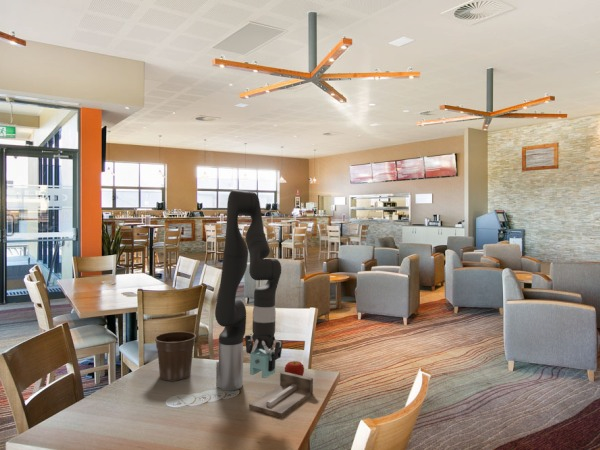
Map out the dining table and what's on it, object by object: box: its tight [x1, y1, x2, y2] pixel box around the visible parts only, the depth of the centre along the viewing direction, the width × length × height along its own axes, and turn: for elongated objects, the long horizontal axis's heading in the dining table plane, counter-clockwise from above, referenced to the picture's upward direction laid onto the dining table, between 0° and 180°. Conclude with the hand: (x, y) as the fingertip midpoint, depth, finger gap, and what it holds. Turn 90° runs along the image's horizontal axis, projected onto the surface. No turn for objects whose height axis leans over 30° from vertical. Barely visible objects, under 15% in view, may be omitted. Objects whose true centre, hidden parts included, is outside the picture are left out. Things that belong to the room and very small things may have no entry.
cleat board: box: [248, 371, 314, 419], centre depth 157 cm, size 13×22×6 cm, turn 151°
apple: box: [284, 360, 305, 376], centre depth 177 cm, size 8×8×8 cm
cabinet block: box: [249, 349, 277, 379], centre depth 146 cm, size 6×7×7 cm
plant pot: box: [154, 331, 197, 382], centre depth 180 cm, size 16×16×16 cm
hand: (262, 368), depth 147 cm, fingers closed on cabinet block, 6 cm apart
